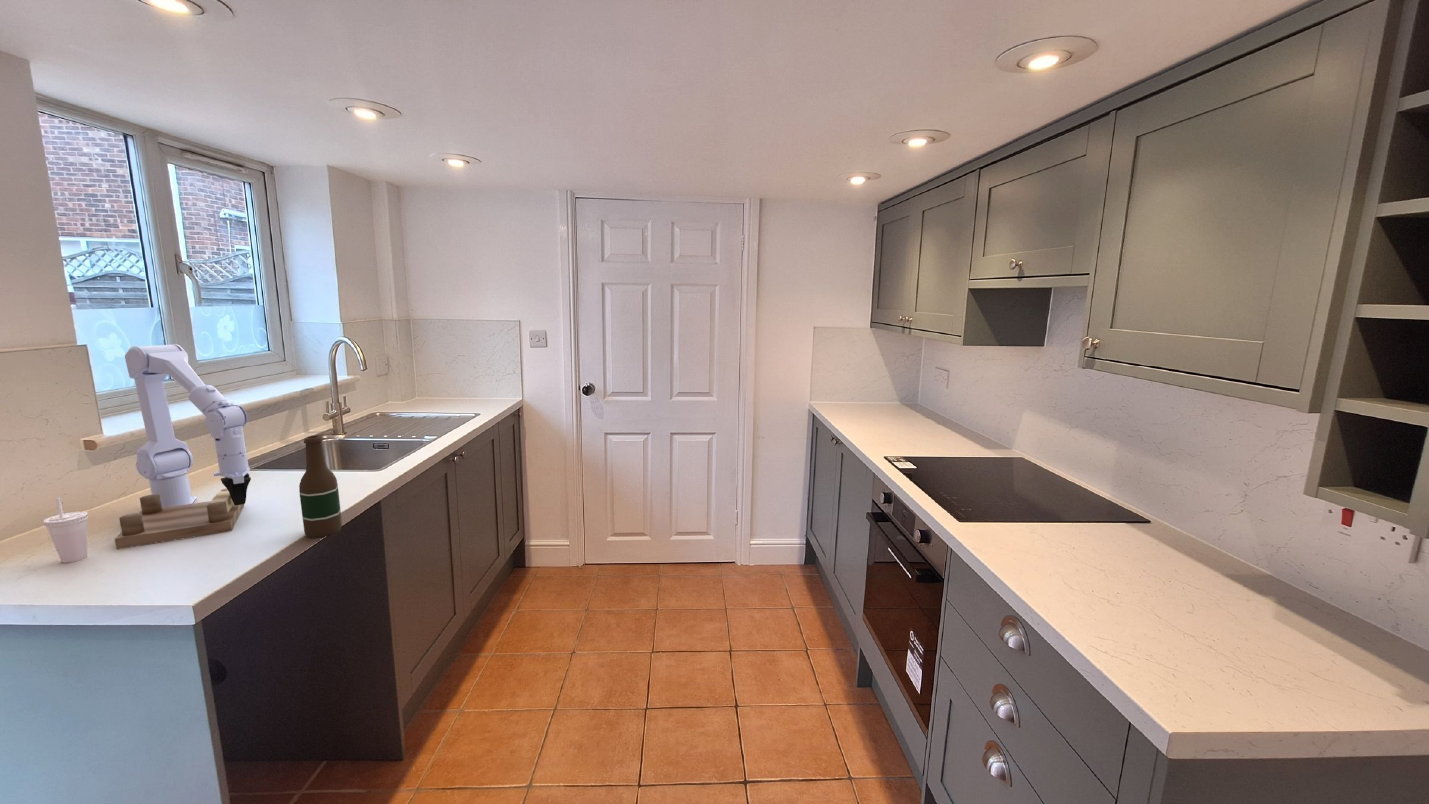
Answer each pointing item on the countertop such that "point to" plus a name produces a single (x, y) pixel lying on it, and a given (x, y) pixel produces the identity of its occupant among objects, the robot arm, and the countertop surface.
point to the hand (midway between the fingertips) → (239, 503)
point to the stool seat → (174, 521)
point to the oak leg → (223, 498)
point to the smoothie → (68, 534)
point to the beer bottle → (319, 493)
